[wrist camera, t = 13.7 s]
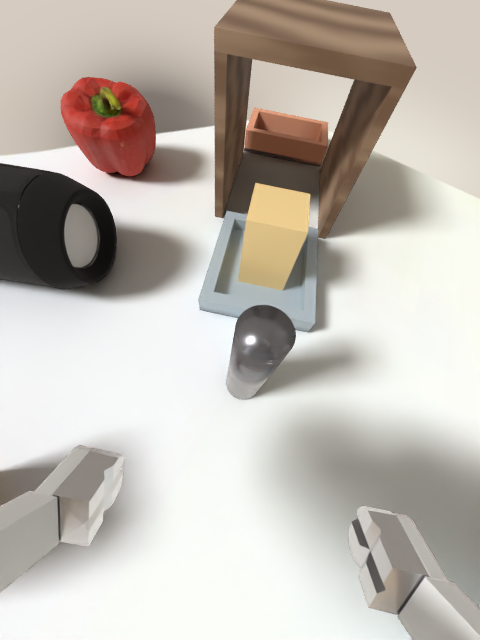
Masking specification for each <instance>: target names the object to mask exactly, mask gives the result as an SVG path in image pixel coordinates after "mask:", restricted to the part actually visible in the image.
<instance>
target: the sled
mask: <svg viewBox="0 0 480 640" xmlns="http://www.w3.org/2000/svg"><path fill="white" fill-rule="evenodd" d="M246 218H247V215H246V214H241V213H236V212H231V211H227V212H226V215H225V218H224V221H223V224H222V227H221V230H220V234H219V237H218V240H217V243H216V246H215V249H214V252H213V255H212V259H211V262H210V265H209V268H208V271H207V274H206V277H205V280H204V284H203V287H202V290H201V293H200V296H199V299H198V300H199V308H200V310H203V311H208V312H213V313H218V314H222V315H227V316H232V317H237V318H238V320H237V322H236V327H235V333H234V338H233V344H232V350H231V356H230V362H229V368H228V374H227V380H226V384H227V388H228V391H229V392H230V393H231V395H233V396H234V397H235V398H238V399H249V398H251V397H253V396H254V395H255V394H256V393H257V391H258V390H259V389H260V388H261V386H262V385H263V384H264V383H265V381H266V380H267V379H268V378H269V376H270V375H271V374H272V373H273V371H274V370H275V369H276V368H277V366H278V365H279V364H280V363H281V361H282V360H283V359H284V358H285V356H286V355H287V354H288V353H289V351H290V350H291V349H292V347H293V345H294V343H295V338H296V332H295V329H296V330H300V331H305V332H308V331H309V330H310V329H311V328H312V327H313V325H314V324H315V313H316V283H317V253H318V229H315V228H310V227H308V234H307V236H306V238H305V241H304V243H303V245H302V247H301V250H300V252H299V254H298V257H297V259H296V261H295V263H294V266H293V268H292V270H291V273H290V275H289V277H288V279H287V282H286V284H285V286H284V289H283V290H278V289H273V288H268V287H263V286H258V285H253V284H249V283H244V282H239V281H238V276H239V269H240V261H241V254H242V247H243V239H244V232H245V225H246Z"/></svg>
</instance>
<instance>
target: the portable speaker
mask: <svg viewBox="0 0 480 640" xmlns="http://www.w3.org/2000/svg"><path fill="white" fill-rule="evenodd" d="M116 244H117V237H116V228H115V223H114V219H113V216H112V213H111V211H110V209H109V207H108V205H107V204H106V202H105V201H104V199H103V198H102V197H101V196H100V195H99V194H97V193H96V192H95V191H93V190H91V189H89V188H87V187H86V186H84V185H82V184H80V183H78V182H77V181H75V180H73V179H71V178H69V177H67V176H65V175H62V174H60V173H55V172H50V171H45V170H39V169H33V168H27V167H21V166H14V165H8V164H2V163H0V279H5V280H11V281H18V282H25V283H31V284H38V285H45V286H51V287H55V288H60V289H69V288H74V287H79V286H84V285H88V284H93V283H96V282H99V281H101V280H102V279H103V278H104V277H105V276H106V275H107V274H108V273H109V271H110V269H111V267H112V265H113V261H114V258H115V254H116Z"/></svg>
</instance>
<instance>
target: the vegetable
mask: <svg viewBox="0 0 480 640" xmlns="http://www.w3.org/2000/svg"><path fill="white" fill-rule="evenodd" d="M61 113H62V117H63V119H64V122H65V124H66V126H67V129H68V130H69V132H70V134H71V136H72V138H73V139H74V141H75V142H76V144H77V145H78V147H79V148H80V149H81V151H82V152H83V153H84V155H85V156H86V157H87V159H88V160H89V161H90V162H91V163H92V164H93V166H95V167H96V168H97V169H99V170H101V171H104V172H107V173H115V172H119V173H120V174H122V175H125V176H134V175H137V174H140V173H141V172H142V171H143V169H144V165H146V164H147V163H148V162H149V161H150V160H151V158H152V156H153V154H154V151H155V145H156V131H155V122H154V116H153V113H152V111H151V108H150V106H149V104H148V103H147V101H146V100H145V99H144V98H143V96H142V95H141V94H140V93H139V92H138V91H137V90H136V89H135V88H134V87H132V86H131V85H128V84H126V83H123V82H118V83H115V82H113V81H110V80H107V79H103V78H92V77H87V78H81V79H80V80H78V81H77V82H76V83H75V84H74V86H73V88H72V89H71V90H70V91H68V92H67V93H65V94H64V95H63V97H62V99H61Z"/></svg>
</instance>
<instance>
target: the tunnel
mask: <svg viewBox="0 0 480 640" xmlns="http://www.w3.org/2000/svg"><path fill="white" fill-rule="evenodd" d="M214 38H215V39H214V45H215V46H214V48H215V49H214V50H215V51H214V55H215V58H214V59H215V216H216V217H221V218H222V217H223V214H224V211H225V208H226V205H227V202H228V199H229V196H230V193H231V190H232V187H233V184H234V181H235V178H236V175H237V171H238V168H239V165H240V162H241V159H242V156H243V150H244V140H245V129H246V119H247V108H248V96H249V87H250V76H251V65H252V59H255V60H260V61H265V62H270V63H275V64H280V65H285V66H290V67H295V68H300V69H305V70H310V71H315V72H320V73H325V74H330V75H335V76H340V77H345V78H350V79H354V82H353V85H352V87H351V90H350V93H349V95H348V98H347V101H346V103H345V106H344V109H343V111H342V114H341V116H340V119H339V122H338V124H337V127H336V129H335V132H334V135H333V137H332V140H331V142H330V145H329V148H328V150H327V153H326V156H325V158H324V161H323V163H322V166H321V169H320V188H319V217H318V237H319V238H324V239H325V238H326V236H327V234H328V232H329V231H330V229H331V227H332V225H333V223H334V221H335V219H336V217H337V216H338V214H339V212H340V210H341V208H342V206H343V204H344V202H345V201H346V199H347V197H348V195H349V193H350V191H351V189H352V187H353V186H354V184H355V182H356V180H357V178H358V176H359V174H360V173H361V171H362V169H363V167H364V165H365V163H366V161H367V159H368V158H369V156H370V154H371V152H372V150H373V148H374V146H375V144H376V143H377V141H378V139H379V137H380V135H381V133H382V131H383V129H384V127H385V126H386V124H387V122H388V120H389V118H390V116H391V114H392V112H393V111H394V109H395V107H396V105H397V103H398V101H399V99H400V98H401V96H402V94H403V92H404V90H405V88H406V86H407V84H408V83H409V80H410V79H411V77H412V75H413V73H414V71H415V70H416V65H415V63H414V61H413V59H412V57H411V55H410V53H409V51H408V49H407V47H406V45H405V43H404V41H403V39H402V37H401V35H400V32H399V30H398V28H397V26H396V24H395V22H394V20H393V18H392V16H391V14H390V13H388V12H382V11H378V10H373V9H368V8H362V7H358V6H353V5H348V4H342V3H338V2H332V1H327V0H237V1H236V2H235V3H234V4H233V6H232V7H231V8H230V9H229V10H228V12H227V13H226V14H225V15H224V16H223V18H222V19H221V20H220V21H219V22H218V24H217V25H216V26H215V29H214Z"/></svg>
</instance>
